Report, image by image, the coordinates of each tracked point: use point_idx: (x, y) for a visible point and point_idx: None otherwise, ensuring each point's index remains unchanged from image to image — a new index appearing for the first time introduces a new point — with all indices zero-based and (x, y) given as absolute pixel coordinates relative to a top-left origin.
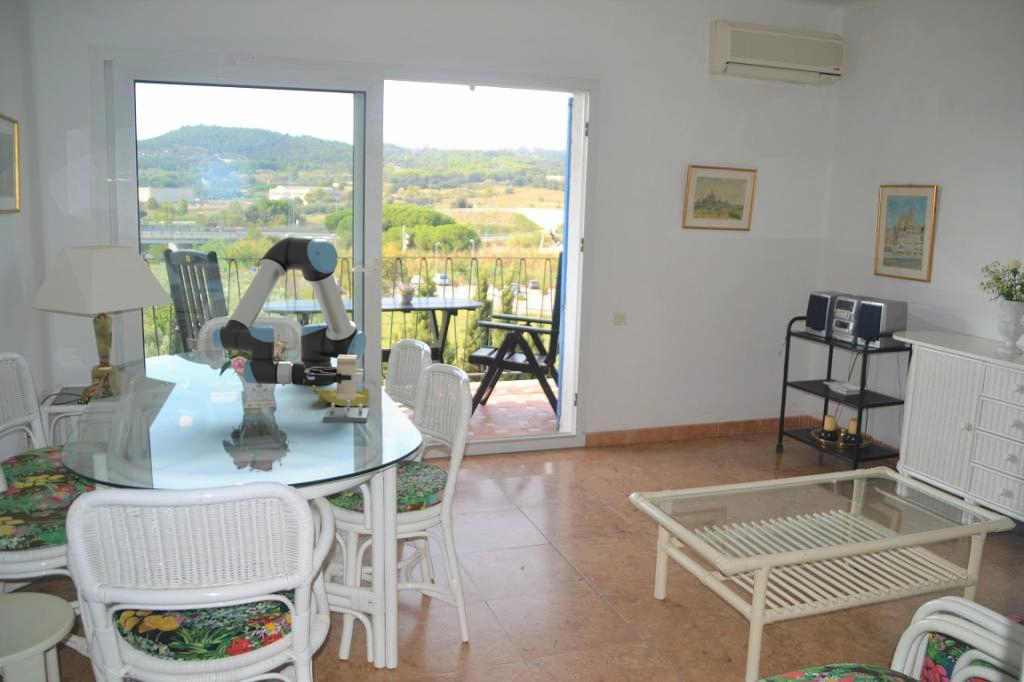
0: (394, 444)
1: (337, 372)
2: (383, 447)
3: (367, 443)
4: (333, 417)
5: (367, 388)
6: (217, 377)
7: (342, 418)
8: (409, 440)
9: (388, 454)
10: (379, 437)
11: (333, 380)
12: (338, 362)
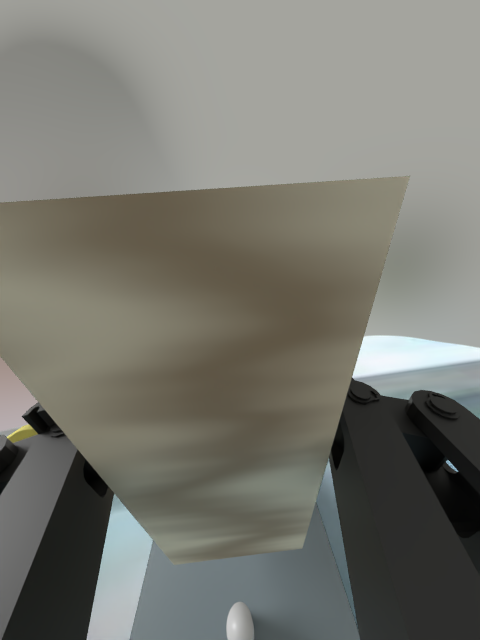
0: (405, 353)
1: (331, 421)
2: (443, 363)
3: (458, 391)
4: (343, 589)
5: (31, 428)
6: None
7: (320, 518)
8: (363, 340)
9: (469, 352)
10: (390, 378)
11: (471, 485)
12: (356, 285)
